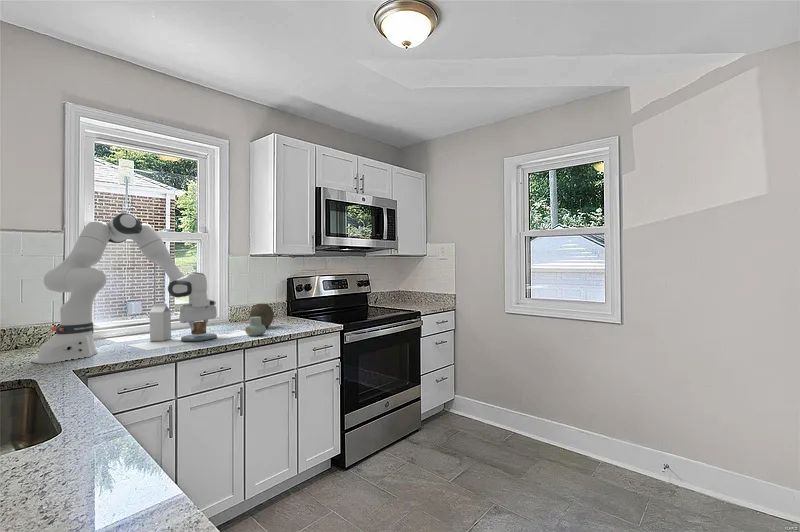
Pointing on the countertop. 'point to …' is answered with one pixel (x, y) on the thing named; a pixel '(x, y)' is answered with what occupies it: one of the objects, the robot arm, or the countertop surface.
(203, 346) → the countertop surface
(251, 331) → the air freshener
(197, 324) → the block
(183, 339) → the dish
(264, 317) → the dark rounded stone
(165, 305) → the milk carton
